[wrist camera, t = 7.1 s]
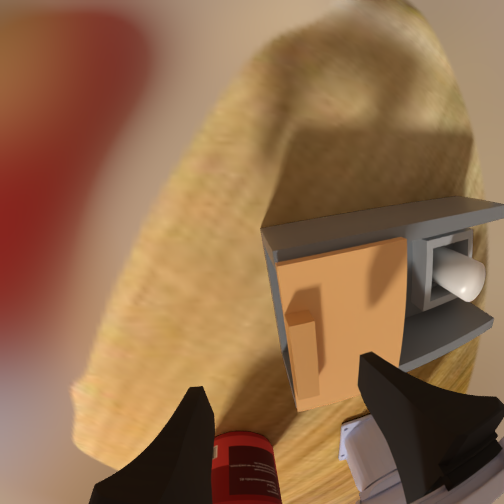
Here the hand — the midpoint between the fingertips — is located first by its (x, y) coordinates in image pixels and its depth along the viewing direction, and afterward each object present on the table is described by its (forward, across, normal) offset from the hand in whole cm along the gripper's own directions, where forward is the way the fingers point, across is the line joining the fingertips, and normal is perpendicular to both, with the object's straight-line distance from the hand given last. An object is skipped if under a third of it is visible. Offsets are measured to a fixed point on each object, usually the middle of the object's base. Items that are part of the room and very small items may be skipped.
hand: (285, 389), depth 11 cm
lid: (+3, -4, 0) cm, 5 cm away
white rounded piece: (+9, -16, 0) cm, 18 cm away
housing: (+10, -10, 0) cm, 14 cm away
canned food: (+10, +6, +19) cm, 22 cm away
